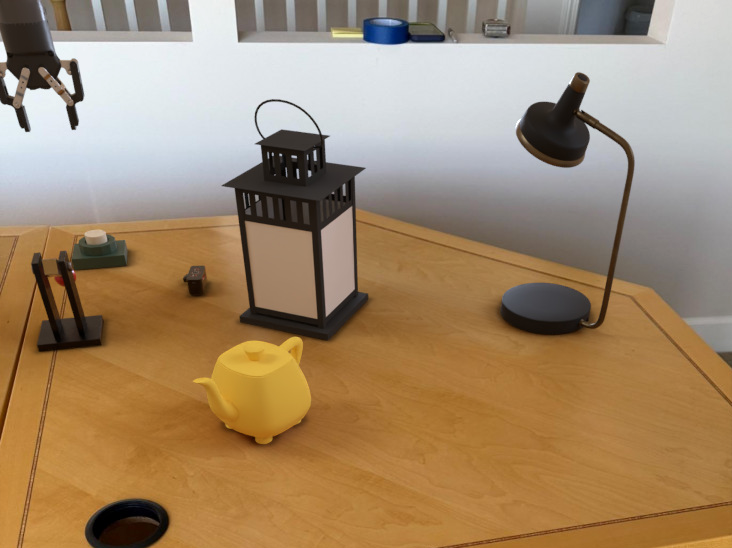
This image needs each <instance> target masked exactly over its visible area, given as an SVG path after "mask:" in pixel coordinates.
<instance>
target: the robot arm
mask: <svg viewBox="0 0 732 548" xmlns="http://www.w3.org/2000/svg"><path fill="white" fill-rule="evenodd" d="M47 14H48V13H47V9H46V7H45V5H44V1H43V0H0V36H1V40H2V43H3V47H4V50H5V53H6V61H1V62H0V103H1V104H2V105H4V106H6V105H7V106H9V107H12V108H13V109H14V112H15V115H16V119H17V122H18V125H19V127H20V129H24V132H25V133H31V130H32V128H31V124H30V120H29V116H28V113H27V110H26V106H25V105H24V104H23V101H24V98H25V96H26V95H25V94H26V91H27V89H28V90H30V91H36V90H38V89H39V90H40V89H41V90H50V89H52V90H53V91H54V92H55V93H56V94H57V95H58V96H59V97H60V98H61V99H62V100H63V102H64V103H65V104H66V106H65V110H66V114H67V119H68V121H69V125H70V129H71V131H76V130H77V127H79V124H80V119H79V114H78V111H77V107H76V104H78V103H80V102H81V103H82V102H83V101H84V99H85V90H84V85H83V80H82V75H81V70H80V64H79V61H78V59H76V58H71V59H60V58H59V56H58V55H57V52H56V49H55V45H54V40H53V37H52V33H51V28H50V25H49V20H48V17H47ZM62 68H63V69H64V70H65V72H66V74H67V75H69V76H71V79H72V85H73V89H74V93H71V92H70V91H69V89H68V88H67V87H66V85H65V84H64V83H63V81H62V80H61V79H60V77H59V74H60V72H61V69H62ZM7 70H8V72H10V73H11V75H13V76H14V77H15V79H17V81H18V82H17V86H16V89H15V94H14V95H10V94H9V90H8V88H7V84H6V81H5V79H4V78H5V77H6V75H7Z"/></svg>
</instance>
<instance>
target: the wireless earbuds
mask: <svg viewBox="0 0 732 548" xmlns="http://www.w3.org/2000/svg"><path fill="white" fill-rule="evenodd" d="M182 281H183V282H184V283H186V284H187V290H188V294H189V295H190V296H203V295H204V293H205V290H206V288H207V284H208V276H207V270H206V266H205V265H191V266H190V267H189V269H188V272H187V273H186V274H184V275H183V277H182Z"/></svg>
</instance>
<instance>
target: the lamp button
mask: <svg viewBox="0 0 732 548" xmlns="http://www.w3.org/2000/svg"><path fill="white" fill-rule="evenodd" d="M106 234H107V233H106V231H105V230H103V229H91V230H87V231H85V232H84V237H85V239H86V243H87V244H89V245H100V244H103V243H106V242H107V236H106Z"/></svg>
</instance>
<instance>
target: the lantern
mask: <svg viewBox="0 0 732 548" xmlns="http://www.w3.org/2000/svg"><path fill="white" fill-rule="evenodd" d="M274 102H275V103H277V102H278V103H284V104H287V105H291V106H293V107H294V108H297V109H298V110H300V111H301V112H303V113H304V114H305V115H306V117H308V118H309V119H310V120H311V121H312V123H313V125H314V126H315V127H316V130H317V131H318V133H312V132H306V131H305V132H304V131H298V130H289V129H279V130H277V131H276V132H273V133H272V134H270V135H268V136H266V137H265V136H264V135H263V133H262V132H261V129H260V127H259V125H258V118H257V117H258V113H259V110H260V109H261V107H262V106H263V105H265V104H268V103H274ZM253 117H254V124H255V128H256V131H257V132H258V134H259V136H260V137H261V138H262V139H261V140H259V141H257V142H255V143H254V145H258V146H260V152H261V162H260V163H258V164H256V165H254V166H252V167H251V168H249V169H247V170H246V171H244V172H243V173H241V174H239V175H237V176H235V177H233V178H232V179H230V180H228V181H227V182H225V183H223V184H221V187H225V188H231V189H234V195H235V203H236V209H237V210H236V211H237V218H238V219H237V220H238V227H239V235H240V242H241V251H242V258H243V266H244V274H245V282H246V289H247V297H248V298H247V299H248V305H249V307H248V308H247V309H246V310H245V311H244V312H242V313H241V314H240V315H239V322H240V323H243V324H247V325H252V326H257V327H262V328H266V329H271V330H276V331H282V332H286V333H290V334H296V335H301V336H305V337H310V338H314V339H319V340H324V341H329V340H330V339H331V338H332V337H333V336H334V335H335V334H337V332H338V331H339V330H340V329H341V328H342V327H343V326H344V325H345V324H346V323H347V322H348V321H349V320H350V319H351V318H352V317H353V316H354V315H355V314H356V313H357V312H358V311H359V310H360V309H361V308H362V307H363V305H364V304H365V303H367V301H368V300H369V293H367V292H362V291H359V281H358V280H359V279H358V278H359V277H358V244H357V242H358V241H357V212H356V211H357V207H356V176H357V175H359V174H361V173H362V172H363V171H364V170H366V168H367V167H364V166H362V167H361V166H356V165H349V164H342V163H335V162H327V158H326V156H327V155H326V139H328V138H330V137H331V135H328V134H322V131H321V128H320V127H319V125H318V123H317V122H316V121H315V119H314V118H313V116H311V114H309V112H307V111H306V110H305V109H304V108H303V107H301V106H299V105H297V103H293V102H291V101H288V100H284V99H280V98H275V99H274V98H271V99H266V100H264V101H262V102H261V103H260V104H258V105H257V107H256V109H255V112H254V116H253ZM315 155H316V156H315ZM315 159H316V160H315ZM309 172H310V176H309ZM344 191H345V193H344ZM344 194H345V195H344ZM256 196H257V197H258V200H256Z"/></svg>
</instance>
